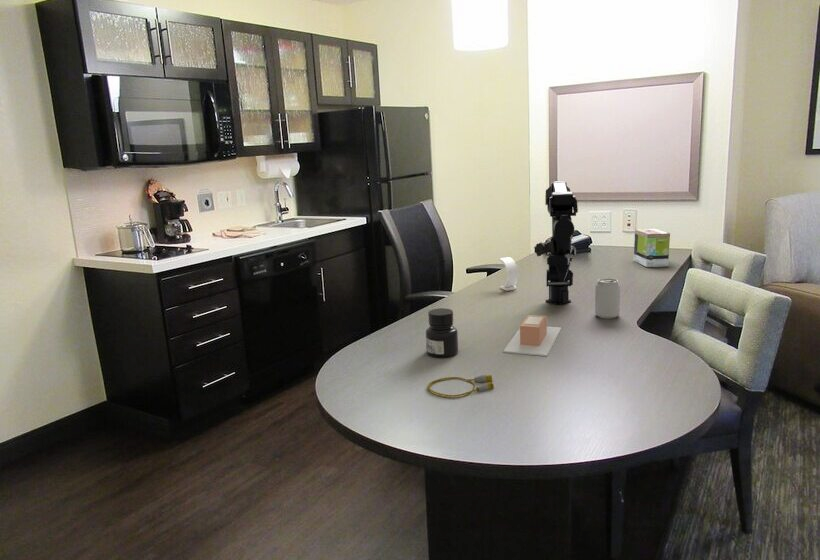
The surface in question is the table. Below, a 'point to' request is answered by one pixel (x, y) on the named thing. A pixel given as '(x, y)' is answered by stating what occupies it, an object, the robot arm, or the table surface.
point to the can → (607, 298)
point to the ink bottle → (441, 334)
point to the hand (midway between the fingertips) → (561, 281)
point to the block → (533, 330)
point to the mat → (540, 350)
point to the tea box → (651, 247)
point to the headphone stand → (510, 273)
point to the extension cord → (477, 379)
